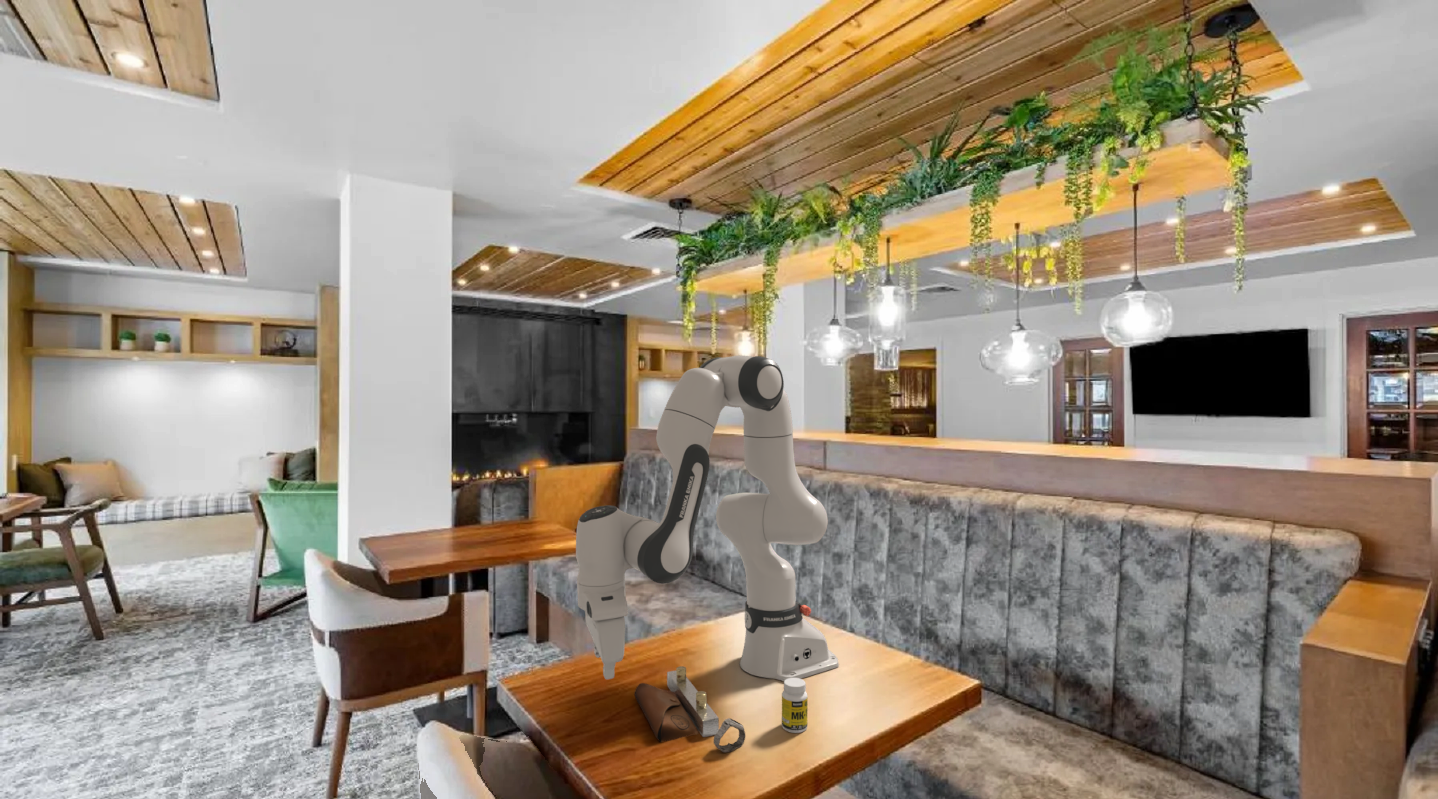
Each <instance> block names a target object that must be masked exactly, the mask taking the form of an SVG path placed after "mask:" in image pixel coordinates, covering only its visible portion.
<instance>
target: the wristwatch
mask: <svg viewBox="0 0 1438 799" xmlns="http://www.w3.org/2000/svg"><path fill="white" fill-rule="evenodd" d="M730 728H735V729H737V730H738V737H737V739H736V741H734V742H732V743H729V742H728V743H727V744H724V745H720V744H721V739H722V738H723V737H724V735H725V734H726V733H727V731H728V730H729V729H730ZM745 741H746V731H745V727H744V725H743V724H741V723H740V722H739V721H737V720H734V719H732V718H730V717H728V718H726V719H724V720H723V722H722V723H721V725H720V726H719V730H718V732H717V733H716V734H715V735H713V745H714V746H715V747H716V749H717V750H719V751H720V752H722V753H725V754H726V753H731V752H733V751H735V750H737V749H739V748H741V747H742V746H743V745H744V743H745Z"/></svg>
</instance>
